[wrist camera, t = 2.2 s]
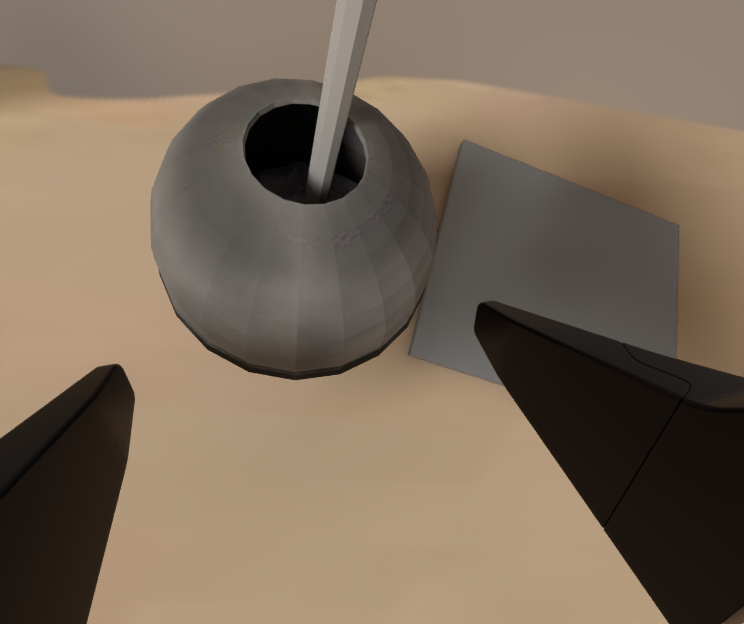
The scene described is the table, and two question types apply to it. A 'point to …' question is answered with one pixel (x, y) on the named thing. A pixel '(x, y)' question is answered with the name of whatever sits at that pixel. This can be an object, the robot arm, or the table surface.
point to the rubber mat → (543, 262)
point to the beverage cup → (295, 220)
